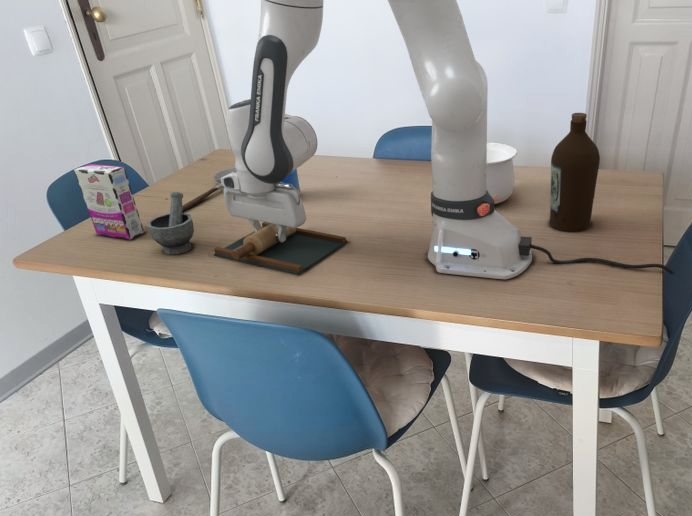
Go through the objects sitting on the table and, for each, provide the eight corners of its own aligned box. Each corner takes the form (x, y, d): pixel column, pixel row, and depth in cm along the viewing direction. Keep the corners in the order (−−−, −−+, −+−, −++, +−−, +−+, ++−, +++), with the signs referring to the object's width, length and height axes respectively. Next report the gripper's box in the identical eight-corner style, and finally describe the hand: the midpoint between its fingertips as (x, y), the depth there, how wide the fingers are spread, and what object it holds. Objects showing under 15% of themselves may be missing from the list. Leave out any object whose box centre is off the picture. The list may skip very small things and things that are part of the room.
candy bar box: (146, 232, 154) (125, 166, 145) (131, 240, 151) (108, 173, 141) (111, 227, 158) (89, 162, 149) (95, 235, 154) (72, 169, 145)
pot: (503, 217, 153) (505, 168, 147) (436, 211, 159) (435, 163, 152) (523, 188, 171) (525, 142, 164) (462, 183, 176) (461, 139, 169)
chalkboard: (347, 242, 145) (346, 236, 144) (298, 275, 132) (297, 268, 131) (267, 226, 155) (266, 221, 154) (214, 255, 142) (212, 249, 141)
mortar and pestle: (184, 259, 141) (170, 207, 134) (147, 256, 142) (131, 205, 136) (209, 238, 150) (197, 189, 143) (174, 236, 152) (160, 188, 145)
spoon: (261, 176, 185) (258, 166, 184) (187, 222, 161) (183, 211, 159) (231, 176, 189) (228, 166, 188) (155, 221, 165) (151, 210, 163)
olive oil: (586, 214, 153) (597, 107, 139) (597, 231, 144) (610, 119, 131) (543, 216, 153) (549, 109, 139) (551, 234, 144) (559, 121, 130)
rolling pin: (310, 227, 151) (308, 210, 149) (245, 266, 135) (240, 247, 132) (296, 224, 153) (293, 207, 151) (229, 262, 136) (225, 244, 134)
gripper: (306, 180, 133) (316, 240, 141) (234, 169, 142) (247, 227, 150) (287, 189, 129) (298, 251, 137) (214, 178, 137) (228, 237, 145)
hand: (271, 238), depth 143 cm, fingers closed on rolling pin, 4 cm apart
